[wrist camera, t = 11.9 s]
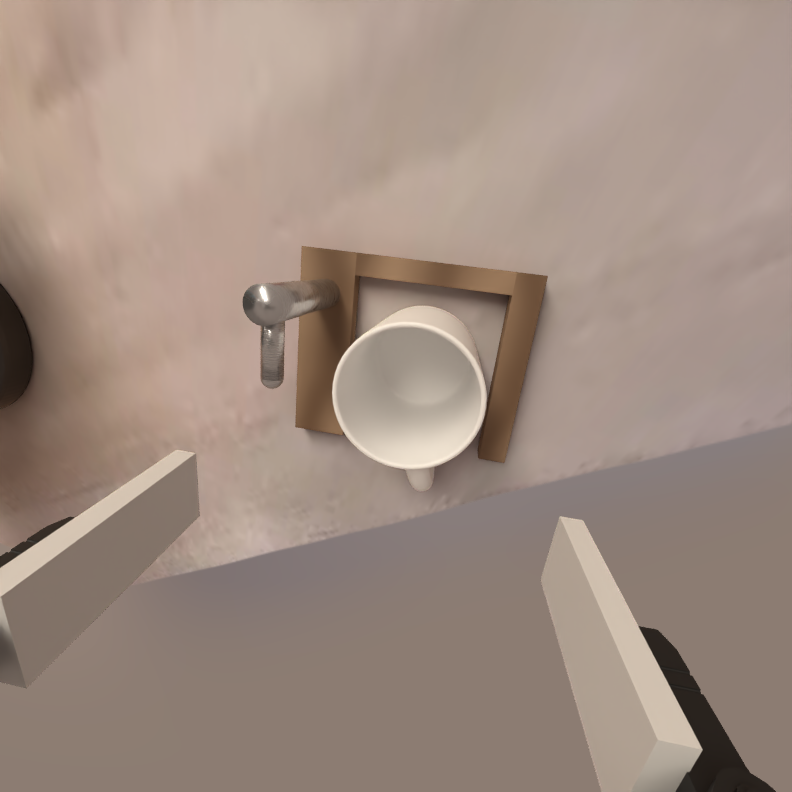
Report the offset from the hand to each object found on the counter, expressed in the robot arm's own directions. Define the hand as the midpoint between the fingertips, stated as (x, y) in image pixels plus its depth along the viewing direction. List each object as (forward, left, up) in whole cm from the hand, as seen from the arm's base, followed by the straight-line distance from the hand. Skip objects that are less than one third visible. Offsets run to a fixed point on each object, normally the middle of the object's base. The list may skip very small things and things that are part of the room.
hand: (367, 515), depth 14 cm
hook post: (-7, +4, -16) cm, 18 cm away
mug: (+1, 0, -18) cm, 18 cm away
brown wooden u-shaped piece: (-1, +2, -18) cm, 18 cm away
